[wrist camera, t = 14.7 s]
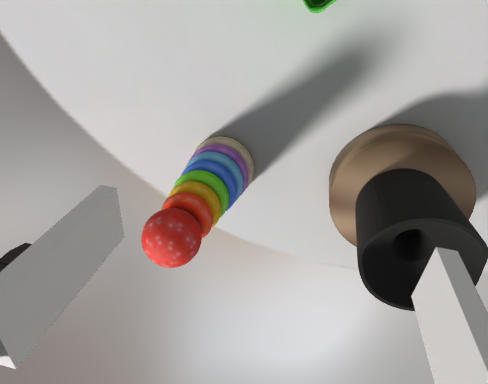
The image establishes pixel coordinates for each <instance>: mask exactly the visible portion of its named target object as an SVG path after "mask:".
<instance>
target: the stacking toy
mask: <svg viewBox="0 0 488 384" xmlns="http://www.w3.org/2000/svg"><path fill="white" fill-rule="evenodd" d="M253 174H254V164H253V160H252V158H251V155H250V154H249V152H248V151H247V149H246V148H245V147H244V146H243V145H242V144H241V143H239V142H238V141H236V140H234V139H231V138H228V137H212V138H209V139H207V140H205V141H204V142H202V143H201V144H200V145H199V146H198V148H197V149H196V151H195V153H194V154H193V156H192V157H191V159H190V161H189V162H188V164H187V166H186V168H185V170H184V171H183V173H182V175H181V177H180V178H179V179H178V180H177V181H176V183H175V185H174V188H173V189H172V191H171V192H170V194H169V197H168V198H167V199H166V201H165V202H164V204H163V205H162V209H161V211H159V212H157V213H155V214H154V215H153V216H151V217H150V219H148V221H147V222H146V224H145V226H144V228H143V231H142V236H141V241H142V247H143V250H144V252H145V254H146V255H147V256H148V258H150V260H151V261H153V262H154V263H156V264H158V265H160V266H163V267H169V268H172V267H179V266H182V265H184V264H186V263H188V262H189V261H190V260H191V259H192V258H193V257H194V256H195V255H196V254H197V252H198V250H199V248H200V244H201V239H202V238H203V237H205V236H206V235H207V234H208V233H209V231H210V230H211V227H213V226H214V225H215V224H216V223H217V221H218V220H219V218H220V217H221V216H222V215H223V214H224V213H225V211H227V210H228V209H229V208H230V207H231V206H232V205H233V203H234V202H235V201H236V200H237V199H238V198H239V196H240V195H241V194H242V193H243V192H244V191H245V189H246V188H247V187H248V186H249V184H250V183H251V181H252V178H253Z"/></svg>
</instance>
